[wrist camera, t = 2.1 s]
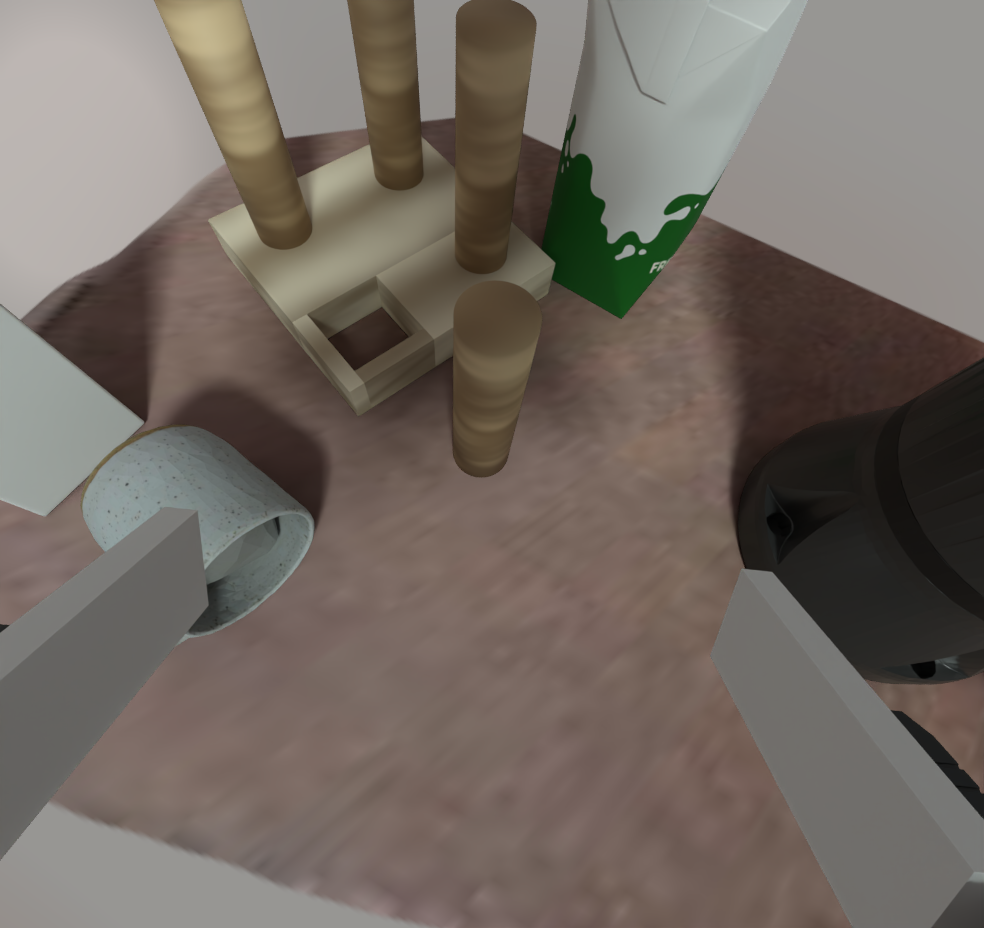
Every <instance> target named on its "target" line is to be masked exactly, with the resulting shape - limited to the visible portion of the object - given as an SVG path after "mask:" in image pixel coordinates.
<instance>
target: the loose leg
mask: <svg viewBox="0 0 984 928" xmlns="http://www.w3.org/2000/svg"><path fill="white" fill-rule="evenodd" d="M541 326H542V312H541V309H540V306H539V304H538V302H537V301H536V300H535V298H534V297H533V296H532V295H531V294H530V293H529V292H528V291H526V290H525V289H524V288H522V287H520V286H518V285H516V284H513V283H510V282H506V281H497V280H493V281H485V282H481V283H478V284H475V285H473V286H471V287H469V288H468V289H467V290H465V291H464V292H463V293H462V294H461V295H460V297H459V298H458V300H457V302H456V304H455V307H454V314H453V456H454V459H455V462H456V464H457V465H458V467H459V468H460V469H461V470H462V471H464V472H465V473H467V474H469V475H471V476H474V477H488V476H492V475H494V474H496V473H497V472H499V471H500V470H501V469H502V468H503V467H504V465H505V463H506V461H507V458H508V455H509V451H510V447H511V443H512V439H513V435H514V431H515V427H516V423H517V419H518V416H519V412H520V408H521V404H522V400H523V396H524V392H525V388H526V384H527V380H528V377H529V373H530V369H531V365H532V361H533V357H534V353H535V349H536V345H537V342H538V338H539V334H540V330H541Z"/></svg>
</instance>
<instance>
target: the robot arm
mask: <svg viewBox="0 0 984 928" xmlns="http://www.w3.org/2000/svg"><path fill="white" fill-rule="evenodd" d="M738 530H739V539H740V545H741V550H742V554H743V558H744V561H745V564H746V567H747V569H741V572H740V574H739V577H738V580H737V583H736V586H735V588H734V591H733V594H732V597H731V599H730V602H729V605H728V608H727V611H726V613H725V616H724V619H723V622H722V624H721V627H720V630H719V633H718V636H717V638H716V641H715V644H714V647H713V649H712V652H711V655H710V657H711V659H712V660H713V662H714V664H715V666H716V668H717V670H718V672H719V674H720V676H721V678H722V680H723V681H724V683H725V685H726V687H727V689H728V691H729V693H730V695H731V697H732V699H733V701H734V702H735V704H736V706H737V708H738V710H739V712H740V714H741V716H742V718H743V720H744V722H745V723H746V725H747V727H748V729H749V731H750V733H751V735H752V737H753V739H754V741H755V743H756V744H757V746H758V748H759V750H760V752H761V754H762V756H763V758H764V760H765V762H766V764H767V765H768V767H769V769H770V771H771V773H772V775H773V777H774V779H775V781H776V783H777V785H778V787H779V788H780V790H781V792H782V794H783V796H784V798H785V800H786V802H787V804H788V806H789V808H790V809H791V811H792V813H793V815H794V817H795V819H796V821H797V823H798V825H799V827H800V829H801V830H802V832H803V834H804V836H805V838H806V840H807V842H808V844H809V846H810V848H811V850H812V851H813V853H814V855H815V857H816V859H817V861H818V863H819V865H820V867H821V869H822V871H823V872H824V874H825V876H826V878H827V880H828V882H829V884H830V886H831V888H832V890H833V892H834V893H835V895H836V897H837V899H838V901H839V903H840V905H841V907H842V909H843V911H844V913H845V914H846V916H847V918H848V920H849V922H850V924H851V926H852V928H984V794H982V793H981V792H980V790H979V786H978V785H977V784H976V783H975V782H974V781H973V780H972V779H971V777H970V776H969V775H968V774H967V773H966V772H965V771H964V770H961V769H959V767H958V763H957V762H956V761H955V760H954V759H953V757H952V756H951V755H950V754H949V753H948V752H947V751H946V750H945V749H944V747H943V746H942V745H941V744H940V743H939V742H938V741H937V740H936V738H935V737H934V736H933V735H931V734H930V733H929V732H927V731H926V730H925V729H924V728H922V727H921V726H920V725H918V724H917V723H916V722H915V721H913V720H912V719H911V718H909V717H908V716H907V715H906V714H904V713H903V712H902V711H892V710H890V709H889V708H888V707H887V706H886V705H885V704H884V702H883V701H882V700H881V699H880V698H879V696H878V695H877V694H876V693H875V692H874V691H873V689H872V688H871V687H870V686H869V685H868V684H867V682H866V681H865V680H864V679H867V680H871V681H876V682H881V683H890V684H930V685H931V684H943V683H949V682H954V681H959V680H963V679H966V678H969V677H972V676H974V675H977V674H979V673H982V672H984V358H982V359H980V360H979V361H977V362H975V363H974V364H972V365H970V366H968V367H967V368H965V369H963V370H962V371H960V372H958V373H956V374H955V375H953V376H951V377H950V378H948V379H946V380H944V381H943V382H941V383H939V384H937V385H936V386H934V387H932V388H931V389H929V390H927V391H926V392H924V393H923V394H921V395H919V396H918V397H916V398H914V399H913V400H911V401H909V402H907V403H906V404H904V405H902V406H897V407H892V408H888V409H883V410H878V411H874V412H869V413H864V414H859V415H855V416H850V417H845V418H841V419H836V420H831V421H827V422H823V423H819V424H816V425H813V426H811V427H809V428H806V429H804V430H802V431H800V432H798V433H796V434H795V435H793V436H792V437H790V438H789V439H787V440H786V441H784V442H783V443H781V444H780V445H779V446H777V447H776V448H774V449H773V450H771V451H770V452H769V453H768V454H767V455H765V456H764V457H763V458H762V459H761V460H760V461H759V463H758V464H757V465H756V466H755V468H754V469H753V471H752V472H751V474H750V476H749V478H748V480H747V482H746V484H745V487H744V490H743V493H742V496H741V501H740V506H739V516H738ZM208 605H209V604H208V595H207V586H206V578H205V569H204V560H203V552H202V543H201V535H200V526H199V517H198V510H191V509H181V508H172V507H164V508H162V509H161V510H160V511H158V512H157V513H156V514H155V515H153V516H152V517H151V518H149V519H148V520H147V521H145V522H144V523H143V524H141V525H140V526H139V527H138V528H136V529H135V530H134V531H132V532H131V533H130V534H128V535H127V536H126V537H125V538H123V539H122V540H121V541H119V542H118V543H117V544H115V545H114V546H113V547H111V548H110V549H109V550H108V551H106V552H105V553H104V554H102V555H101V556H100V557H98V558H97V559H96V560H94V561H93V562H92V563H91V564H89V565H88V566H87V567H85V568H84V569H83V570H81V571H80V572H79V573H78V574H76V575H75V576H74V577H72V578H71V579H70V580H68V581H67V582H66V583H64V584H63V585H62V586H61V587H59V588H58V589H57V590H55V591H54V592H53V593H51V594H50V595H49V596H48V597H46V598H45V599H44V600H42V601H41V602H40V603H38V604H37V605H36V606H34V607H33V608H32V609H31V610H29V611H28V612H27V613H25V614H24V615H23V616H21V617H20V618H19V619H18V620H16V621H15V622H14V623H12V624H11V625H2V624H0V860H1V859H2V857H3V856H4V855H5V854H6V853H7V851H8V850H9V849H10V848H11V847H12V845H13V844H14V843H15V842H16V840H17V839H18V838H19V837H20V836H21V834H22V833H23V832H24V830H25V829H26V828H27V827H28V826H29V825H30V823H31V822H32V821H33V820H34V818H35V817H36V816H37V815H38V814H39V812H40V811H41V810H42V809H43V807H44V806H45V805H46V804H47V802H48V801H49V800H50V799H51V798H52V796H53V795H54V794H55V793H56V791H57V790H58V789H59V788H60V787H61V785H62V784H63V783H64V782H65V780H66V779H67V778H68V777H69V776H70V774H71V773H72V772H73V771H74V769H75V768H76V767H77V766H78V765H79V763H80V762H81V761H82V760H83V758H84V757H85V756H86V755H87V754H88V752H89V751H90V750H91V749H92V747H93V746H94V745H95V744H96V743H97V741H98V740H99V739H100V738H101V736H102V735H103V734H104V733H105V732H106V730H107V729H108V728H109V727H110V725H111V724H112V723H113V722H114V721H115V719H116V718H117V717H118V716H119V714H120V713H121V712H122V711H123V710H124V708H125V707H126V706H127V705H128V703H129V702H130V701H131V700H132V698H133V697H134V696H135V695H136V694H137V692H138V691H139V690H140V689H141V687H142V686H143V685H144V684H145V683H146V681H147V680H148V679H149V678H150V676H151V675H152V674H153V673H154V672H155V670H156V669H157V668H158V667H159V665H160V664H161V663H162V662H163V661H164V659H165V658H166V657H167V656H168V654H169V653H170V652H171V651H172V650H173V648H174V647H175V646H176V645H177V643H178V642H179V641H180V640H181V639H182V637H183V636H184V635H185V634H186V632H187V631H188V630H189V629H190V628H191V626H192V625H193V624H194V623H195V621H196V620H197V619H198V618H199V617H200V615H201V614H202V613H203V612H204V610H205V609H206V608H207V607H208Z"/></svg>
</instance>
